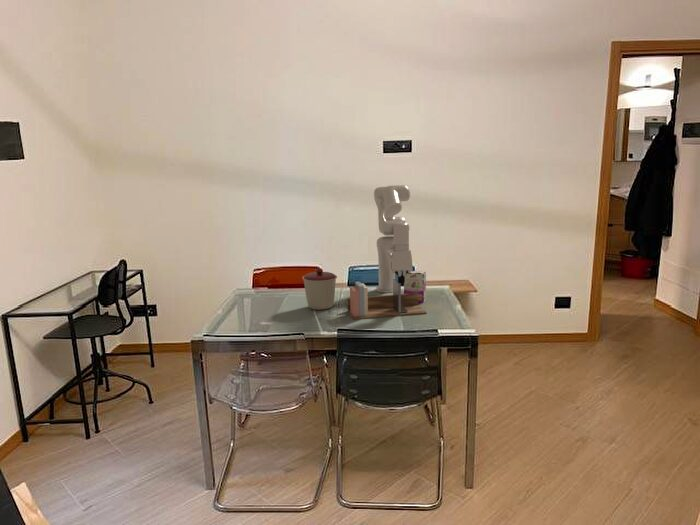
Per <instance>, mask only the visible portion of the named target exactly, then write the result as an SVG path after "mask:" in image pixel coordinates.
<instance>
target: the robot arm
mask: <svg viewBox="0 0 700 525" xmlns="http://www.w3.org/2000/svg"><path fill="white" fill-rule="evenodd" d="M410 191H411V190H410V189H409V187H408V186H407V185H404V184H402V185H398V184H397V185H388V186H380V187H379V186H378V187H376V188H375V189H374V192H373V198H374V201H375V204H376V207H377V212H378V213H377V214H378V218H377V220H378V230H379V233H380V234H382V235H383V236H381V237H378V239H377V240H376V249H377V256H378V257H377V258H378V286H377V287H376V288H375V290H376V291H377V292H378V293H385V294H387V293H393V279H396V275H397V281H399V282H400V283H401V285H404V282H405V276H406V274H407V273H408V272H411V271H413V256H412V251H411V249H410V232H409V231H410V224H409V222H408V221H407V220H406V219H405V217H403V216H396V215H398V214H399V213H400V212H401V211H402V209H403V207H402V202H409V200H410V197H411V192H410Z"/></svg>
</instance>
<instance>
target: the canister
mask: <svg viewBox="0 0 700 525" xmlns="http://www.w3.org/2000/svg"><path fill="white" fill-rule="evenodd" d="M337 278H338V276H337V275H336V274H335V273H333V272H331V271H330V272H329V271H324V270H323V268H321V267H319V268H316V270H315V271H313V272H308V273H306V274H305V275H303V276H302V280H303V285H304V290H305V298H306V304H307V306H308V308H309V309H312V310H316V311H317V310H318V311H321V310H322V311H323V310H327V309H331V308H332V307H333V306H334V303H335V294H336V282H337Z"/></svg>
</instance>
